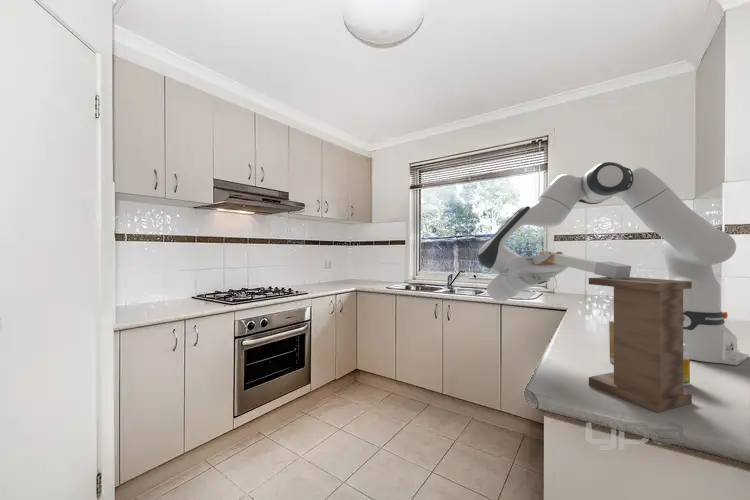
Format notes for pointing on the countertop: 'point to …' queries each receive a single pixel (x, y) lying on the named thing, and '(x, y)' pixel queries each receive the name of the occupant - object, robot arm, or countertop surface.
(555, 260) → the grey tan flat bar
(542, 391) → the countertop surface
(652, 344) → the stand
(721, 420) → the countertop surface
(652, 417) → the countertop surface
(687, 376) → the supplement bottle
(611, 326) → the skincare box
